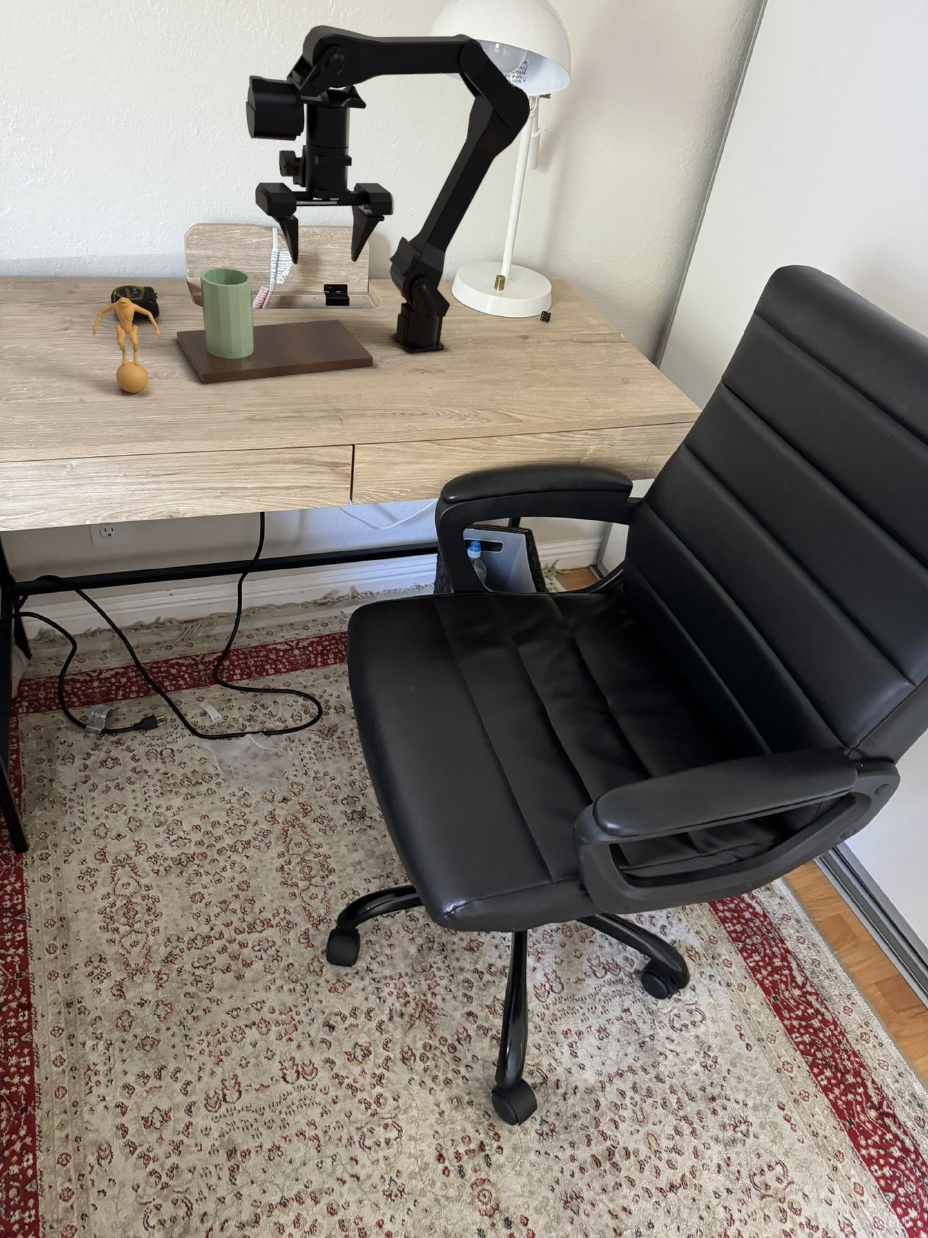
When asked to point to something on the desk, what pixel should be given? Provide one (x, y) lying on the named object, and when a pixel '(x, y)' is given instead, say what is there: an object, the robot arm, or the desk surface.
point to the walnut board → (280, 352)
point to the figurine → (128, 373)
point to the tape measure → (138, 299)
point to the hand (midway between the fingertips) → (324, 261)
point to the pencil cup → (227, 312)
